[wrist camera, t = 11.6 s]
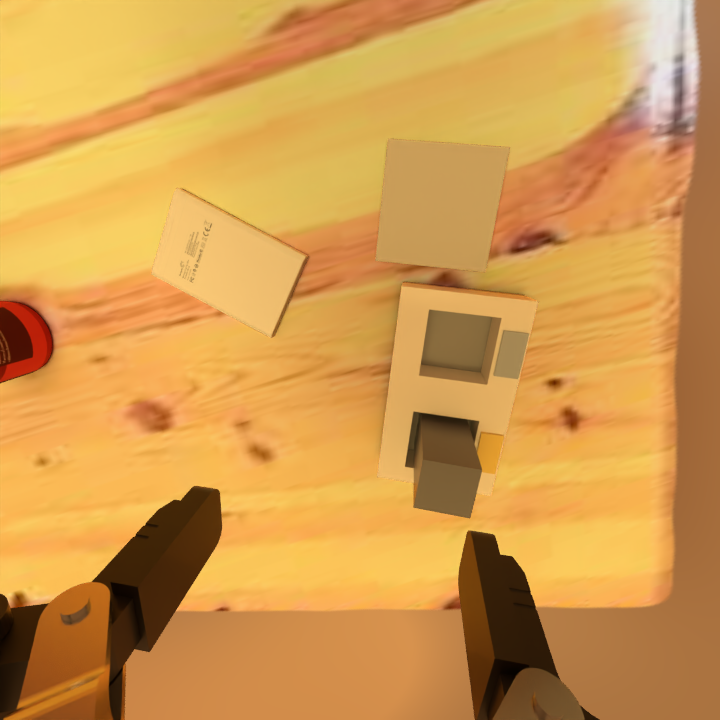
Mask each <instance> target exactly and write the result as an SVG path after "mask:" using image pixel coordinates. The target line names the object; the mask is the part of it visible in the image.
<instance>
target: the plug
mask: <svg viewBox="0 0 720 720" xmlns="http://www.w3.org/2000/svg"><path fill="white" fill-rule="evenodd" d="M481 473H482V467H481V464H480V461H479V457H478V454H477V451H476V448H475V444H474V441H473V438H472V434H471V431H470V428H469V424H468V421H467V419H462V418H455V417H448V416H441V415H434V414H428V413H421V412H419V418H418V423H417V429H416V434H415V440H414V508H419V509H424V510H429V511H434V512H440V513H445V514H450V515H455V516H460V517H466V518H470V517H471V513H472V509H473V505H474V501H475V497H476V493H477V489H478V485H479V481H480V477H481Z"/></svg>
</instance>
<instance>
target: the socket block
mask: <svg viewBox="0 0 720 720" xmlns="http://www.w3.org/2000/svg"><path fill="white" fill-rule="evenodd" d="M537 306H538V301H536V300H534V299H532V298H529V297H527V296H525V295H521V294H512V293H503V292H494V291H485V290H476V289H467V288H458V287H449V286H440V285H431V284H422V283H413V282H403V283H402V287H401V295H400V302H399V310H398V318H397V326H396V333H395V341H394V349H393V357H392V365H391V372H390V380H389V388H388V396H387V404H386V411H385V419H384V427H383V435H382V442H381V450H380V458H379V466H378V474H377V477H380V478H386V479H392V480H397V481H403V482H409V483H414V440H415V434H416V429H417V423H418V418H419V412H421V413H428V414H434V415H441V416H448V417H455V418H462V419H467V421H468V424H469V428H470V431H471V434H472V438H473V441H474V444H475V448H476V451H477V454H478V457H479V461H480V464H481V467H482V473H481V477H480V481H479V485H478V489H477V493H476V494H481V495H487V496H491V494H492V490H493V486H494V482H495V477H496V473H497V469H498V465H499V461H500V457H501V453H502V449H503V445H504V441H505V437H506V433H507V428H508V424H509V420H510V416H511V412H512V408H513V404H514V400H515V396H516V392H517V388H518V384H519V379H520V375H521V371H522V367H523V363H524V359H525V355H526V351H527V347H528V343H529V339H530V335H531V330H532V326H533V322H534V318H535V314H536V310H537Z"/></svg>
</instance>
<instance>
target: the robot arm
mask: <svg viewBox="0 0 720 720" xmlns="http://www.w3.org/2000/svg"><path fill="white" fill-rule="evenodd" d="M221 531H222V517H221V503H220V492H219V490H218V489H213V488H206V487H200V486H194V487H192V488H191V489H190V490H189V492H188V493H187V494H186V495H185V496H184V497H183V498H182V500H181V501H179V500H173V501H172V502H170V503H168V504H167V505H165V506H164V507H162V508H160V509H159V510H158V511H157V512H156V513H155V514H154V515H153V516H152V517H151V518H150V519H149V520H148V521H147V523H146V525H145V526H143V527H142V528H141V529H140V530H139V531H138V532H137V533H136V536H135V537H133V538H132V539H131V540H130V541H129V542H128V543H127V544H126V545H125V546H124V548H123V549H122V550H121V551H120V552H119V553H118V554H117V555H116V556H115V557H114V558H113V559H112V561H111V562H110V563H109V564H108V565H107V566H106V567H105V568H104V569H103V570H102V571H101V573H100V574H99V575H98V576H97V577H96V578H95V579H94V580H93V581H92V582H89V583H83V584H80V585H77V586H74V587H72V588H70V589H68V590H66V591H65V592H63V593H61V594H60V595H59V596H57V597H56V598H55V599H54V600H52V601H51V602H50V603H48V604H41V605H33V606H25V607H18V608H10V606H9V603H8V600H7V598H6V597H5V596H4V595H2V594H0V720H125V686H126V664H125V662H126V661H127V659H128V658H129V656H130V655H131V653H132V652H133V650H134V649H137V650H142V651H147V652H150V651H151V649H152V648H153V645H154V644H155V643H156V641H157V640H158V638H159V636H160V634H161V633H162V632H163V630H164V628H165V627H166V625H167V624H168V622H169V621H170V619H171V617H172V616H173V614H174V613H175V611H176V609H177V608H178V606H179V605H180V603H181V601H182V600H183V598H184V597H185V595H186V594H187V592H188V590H189V589H190V587H191V586H192V584H193V582H194V581H195V579H196V578H197V576H198V574H199V573H200V571H201V570H202V568H203V567H204V565H205V563H206V562H207V560H208V559H209V557H210V555H211V554H212V552H213V551H214V549H215V547H216V546H217V544H218V541H219V539H220V536H221ZM458 586H459V596H460V604H461V612H462V620H463V628H464V636H465V644H466V652H467V660H468V668H469V677H470V684H471V693H472V700H473V709H474V717H475V720H599V719H598V718H596V717H594V716H593V715H591V714H590V713H589V712H587V711H586V710H585V709H584V708H583V707H581V706H580V705H579V703H578V701H577V699H576V698H575V696H574V695H573V693H572V692H571V691H570V689H568V687H567V686H566V685H565V684H564V683H563V682H562V681H561V680H560V678H559V676H558V673H557V671H556V668H555V665H554V662H553V659H552V656H551V653H550V650H549V647H548V644H547V640H546V638H545V634H544V631H543V628H542V625H541V622H540V619H539V616H538V613H537V610H536V609H535V607H536V606H535V603H534V600H533V597H532V595H531V593H530V592H531V591H530V588H529V585H528V582H527V579H526V575H525V573H524V572H523V570H522V569H521V567H520V566H519V565H518V563H517V562H516V561H515V559H514V558H513V557H512V556H506V555H500V552H499V548H498V545H497V541H496V538H495V536H494V535H493V534H488V533H482V532H476V531H470V530H469V531H468V532H467V535H466V540H465V544H464V549H463V553H462V558H461V562H460V567H459V577H458Z"/></svg>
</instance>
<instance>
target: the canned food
mask: <svg viewBox="0 0 720 720" xmlns="http://www.w3.org/2000/svg"><path fill="white" fill-rule="evenodd" d="M51 353H52V338H51V335H50V332H49V329H48V327H47V325H46V324H45V322H44V321H43V319H42V318H41V317H40V316H39V315H38V314H37V313H36V312H35V311H34V310H33V309H31V308H29V307H28V306H26V305H23V304H21V303H15V302H8V301H0V383H2V382H5V381H8V380H11V379H14V378H17V377H20V376H23V375H26V374H29V373H32V372H34V371H36V370H38V369H39V368H41V367H42V366H43V365H44V364H45V363H47V361H48V360H49V358H50V356H51Z"/></svg>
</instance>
